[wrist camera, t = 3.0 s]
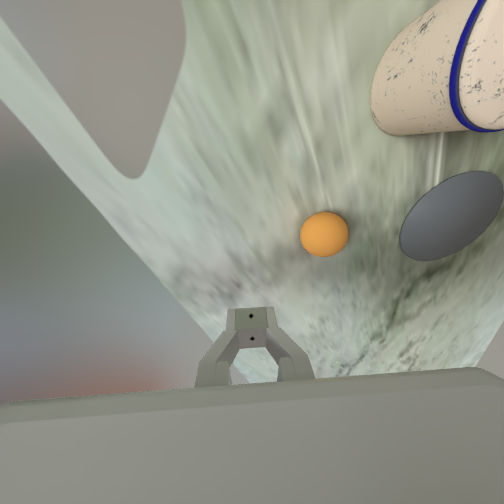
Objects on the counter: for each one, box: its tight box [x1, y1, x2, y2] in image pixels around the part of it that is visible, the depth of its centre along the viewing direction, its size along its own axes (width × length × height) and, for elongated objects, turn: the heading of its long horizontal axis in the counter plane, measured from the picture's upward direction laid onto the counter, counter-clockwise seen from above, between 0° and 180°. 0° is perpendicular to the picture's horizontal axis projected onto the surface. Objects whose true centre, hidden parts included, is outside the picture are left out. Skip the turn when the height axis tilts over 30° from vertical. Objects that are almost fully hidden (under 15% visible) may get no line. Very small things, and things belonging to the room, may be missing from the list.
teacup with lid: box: [370, 0, 504, 136], centre depth 11 cm, size 12×9×12 cm
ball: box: [300, 212, 349, 257], centre depth 22 cm, size 6×6×6 cm
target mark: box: [400, 171, 504, 261], centre depth 25 cm, size 13×13×1 cm
